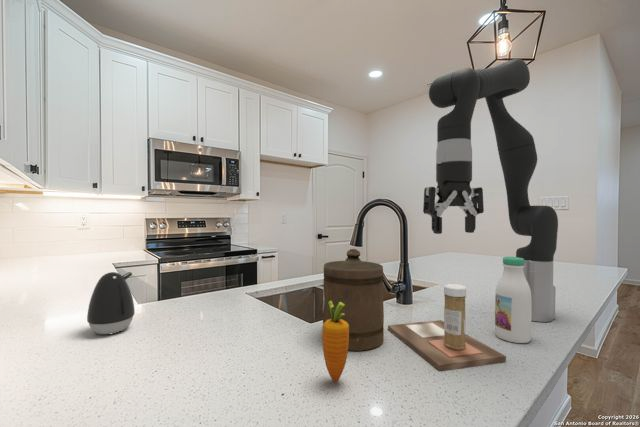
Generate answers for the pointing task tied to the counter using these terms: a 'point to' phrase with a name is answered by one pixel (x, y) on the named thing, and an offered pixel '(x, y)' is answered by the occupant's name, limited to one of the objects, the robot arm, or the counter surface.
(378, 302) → the wooden container
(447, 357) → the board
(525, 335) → the milk bottle
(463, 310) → the sprinkles bottle
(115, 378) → the counter surface
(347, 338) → the carrot
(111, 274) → the pump dispenser
